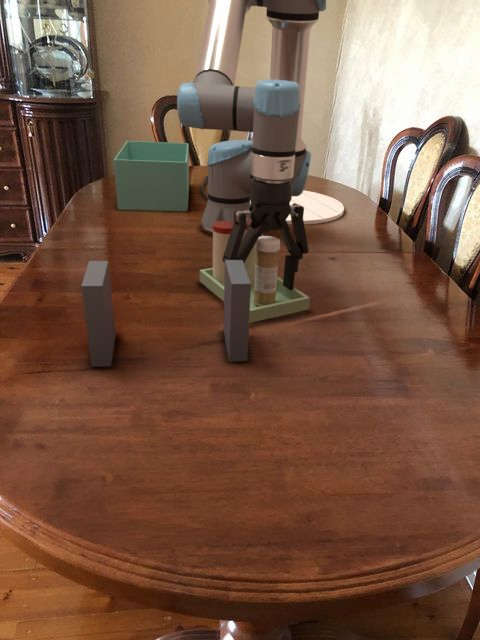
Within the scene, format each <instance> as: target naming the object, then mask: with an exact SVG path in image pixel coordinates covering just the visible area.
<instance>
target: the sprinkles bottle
mask: <svg viewBox="0 0 480 640" xmlns="http://www.w3.org/2000/svg"><path fill="white" fill-rule="evenodd" d="M280 249H281V240H280V238H278V237H276V236H271V235H263V236H261V237H259V238H258V240H257V241H256V252H257V253H256V266H255V285H254V288H255V292H254V301H253V302H254V304H255V305H256V306H258V307H260V306H265V305H270V304H274V303H276V301H275V297H276V287H277V276H278V270H279V269H278V268H279V253H280Z"/></svg>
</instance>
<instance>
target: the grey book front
mask: <svg viewBox="0 0 480 640" xmlns="http://www.w3.org/2000/svg"><path fill="white" fill-rule="evenodd" d="M109 265H110V263H109V261H108V260H89V261H88V263H87V267H86V269H85V273H84V275H83V279H82V282H81V285H80V288H81V297H82V304H83V312H84V320H85V327H86V335H87V344H88V350H89V359H90V366H91V368H103V367H105V368H106V367H111V366H112V362H113V356H114V349H115V343H116V336H117V335H116V326H115V316H114V305H113V296H112V295H113V294H112V286H111V285H112V284H111V275H110V273H111V272H110V266H109Z"/></svg>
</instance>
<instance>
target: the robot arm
mask: <svg viewBox="0 0 480 640" xmlns="http://www.w3.org/2000/svg"><path fill="white" fill-rule="evenodd" d="M207 2H208V8H207V13H206V19H205V23H204V27H203V28H204V29H203V34H202V38H201V44H200V48H199V53H198V58H197V64H196V69H195V73H194V79H193V81H190V82H182V83H181V84H180V85H179V86H178V90H177V97H176V108H177V116H178V120H179V123H180V124H181V125H182V126H183V127H186V128H192V129H198V130H213V131H214V130H215V131H231V132H232V131H235V132H244V133H245V132H246V133H252V140H250V139H248V140H247V139H233V140H231V139H230V140H225V141H219V142H215V143H213V144H212V145H210V147H209V148H208V152H207V153H208V154H207V162H206V164H207V175H205V177H204V181H203V183H202V185H201V189H200V190H201V191H200V192H201V195H202V196H203V197H204V198H205V200H207V202H206V205H205V209H204V211H203V215H202V217H201V222H200V229H201V231H202V232H203V233H205V234H207V235H210V236H213V223H215V222H218V221H231V222H234V224H233V227H232V230H231V233H230V236H229V239H228V243H227V246H226V249H225V252H224V255H223V259H222V260H223V262H224V263H225V260H243V263H245V261H246V259H247V257H248V256H249V254H250V252H251V250H252V248H253V247H254V245H255V243H256V241H257V240H258V238H259V237H261V236H262V234H263V235H264V233H268V232H270V231H275V232H276V231H278V234H279V236H280V237H281V240H282V242H283V243H284V245H285V248H286V249H287V252H288V254H285V258H284V267H283V279H282V280H283V286H284V287H286V288H287V289H289V290H293V288H295V278H296V277H295V276H296V273H298V271H299V263H300V260H303V258H304V255H307V254H308V253H309V251H310V249H309V244H308V238H307V233H306V227H305V224H304V221H303V214H304V207H302V206H300V205H298V204H296V203H294V204H292V205H290V201H291V199H292V196H299V195H301V194H302V192H303V190H304V191H305V187H306V183H307V179H308V175H309V170H310V164H311V158H312V153H311V151H309V150H307V143H306V142H305V140H304V139H303V138H302V134H303V133H302V131H303V118H304V111H305V110H304V108H305V99H306V98H305V97H306V95H305V94H306V86H307V75H308V64H309V52H310V43H311V42H310V41H311V31H312V28H313V26H314V25H316V24H317V23H318V22H319V17H320V12H322V13H323V12H324V11H326V10H327V0H207ZM251 7H260V8H266V19H267V21H268V22H269V23H270V24H271V26H272V29H271V30H272V31H271V32H272V33H271V35H272V36H271V52H270V71H269V73H270V74H269V79H260V80H258V81H257V82H256V84H255V87H253V86H240V85H239V86H238V85H235V83H236V78H237V77H236V76H237V72H238V65H239V59H240V51H241V46H242V45H241V44H242V39H243V31H244V27H245V19H246V15H247V14H248V12H249V11H250V10H251ZM206 184H207V194H206V193H205V186H206ZM250 200H251V203H250ZM289 214H290V215H291V221H292V224H291V226H292V230H293V235H294V237H293V235H292V232H291V228H290V226H289V224H287V222H286V219H287V217H288V216H289ZM249 218H251V222H250V224H249V226H248V228H247V232H246V234H245V236H244V238H243V235H244V232H245V229H246V223H248V222H249V221H248V219H249ZM255 227H256V228H258V229H257V230H255ZM242 238H243V240H242Z"/></svg>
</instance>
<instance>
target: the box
mask: <svg viewBox="0 0 480 640" xmlns="http://www.w3.org/2000/svg"><path fill="white" fill-rule="evenodd" d="M189 149H190V148H189V143H187V142H169V141H167V142H165V141H163V142H162V141H141V140H126V142H125V143H124V144H123V146H122V147H121V149H120V150H119V152H118V153H117V154H116V156H115V157H114V159H113V166H114V167H113V168H114V179H115V189H116V190H115V191H116V202H117V203H116V204H117V210H118V211H122V210H123V211H151V212H153V211H155V212H188V209H189V193H190V192H189V191H190V163H189V162H190V157H189V156H190V155H189V154H190V151H189Z"/></svg>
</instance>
